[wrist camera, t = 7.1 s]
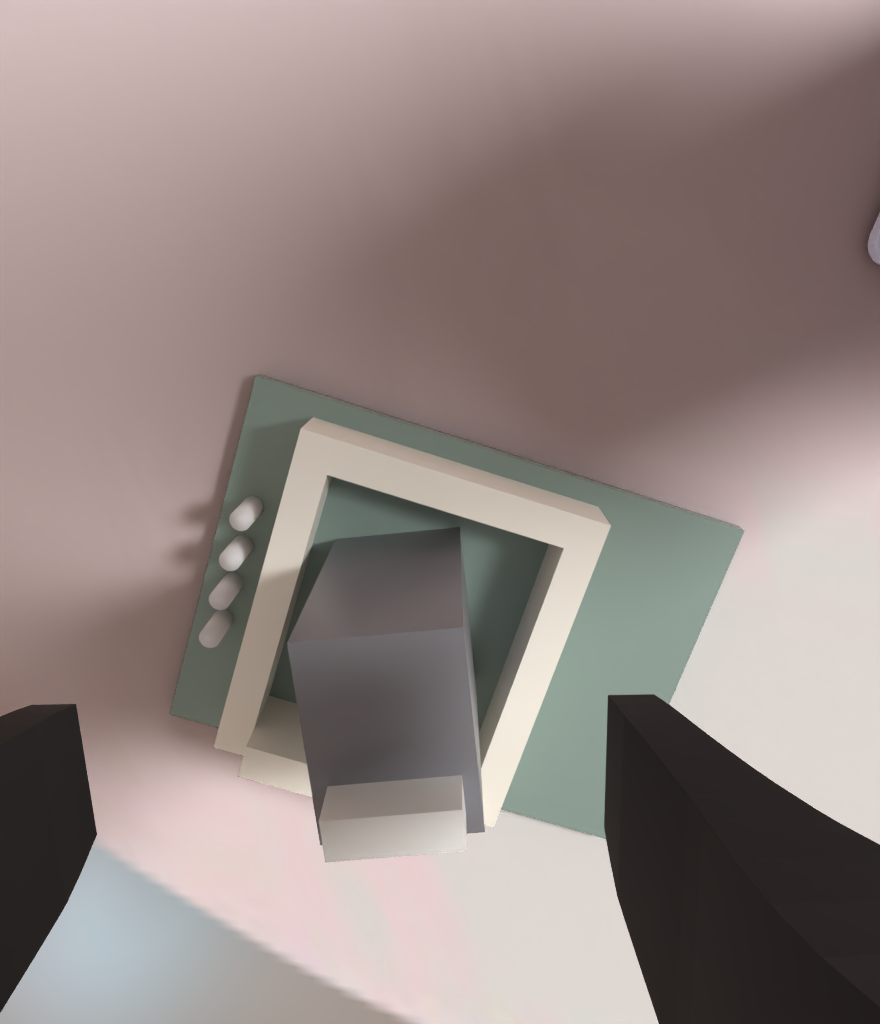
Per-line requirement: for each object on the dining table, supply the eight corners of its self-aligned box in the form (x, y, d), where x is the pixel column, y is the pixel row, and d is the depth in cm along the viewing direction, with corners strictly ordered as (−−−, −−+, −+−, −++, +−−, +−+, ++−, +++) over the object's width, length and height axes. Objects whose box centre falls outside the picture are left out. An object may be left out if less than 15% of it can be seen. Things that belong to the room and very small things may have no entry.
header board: (738, 526, 20) (783, 563, 17) (607, 830, 22) (628, 905, 19) (259, 374, 19) (227, 388, 16) (174, 706, 21) (134, 767, 19)
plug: (460, 526, 19) (464, 653, 13) (475, 679, 21) (486, 869, 14) (335, 538, 20) (274, 670, 13) (357, 689, 21) (311, 883, 14)
